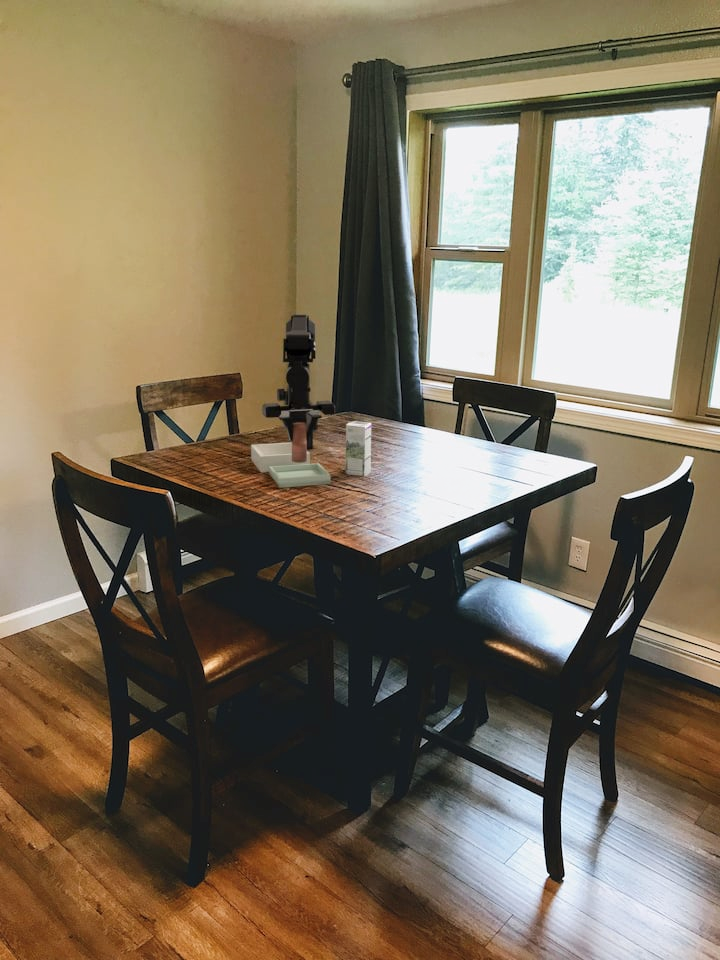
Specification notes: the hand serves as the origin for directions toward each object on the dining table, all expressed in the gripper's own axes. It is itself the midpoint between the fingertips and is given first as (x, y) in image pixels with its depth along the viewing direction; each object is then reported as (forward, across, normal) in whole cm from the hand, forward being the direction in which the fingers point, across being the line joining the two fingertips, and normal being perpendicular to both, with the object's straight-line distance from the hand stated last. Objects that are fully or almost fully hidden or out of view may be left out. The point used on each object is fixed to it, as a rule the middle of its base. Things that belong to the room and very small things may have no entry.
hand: (299, 440), depth 203 cm
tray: (+11, 0, 0) cm, 11 cm away
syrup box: (+11, -17, -1) cm, 20 cm away
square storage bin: (+11, +2, -15) cm, 19 cm away
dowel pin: (+6, 0, 0) cm, 6 cm away
